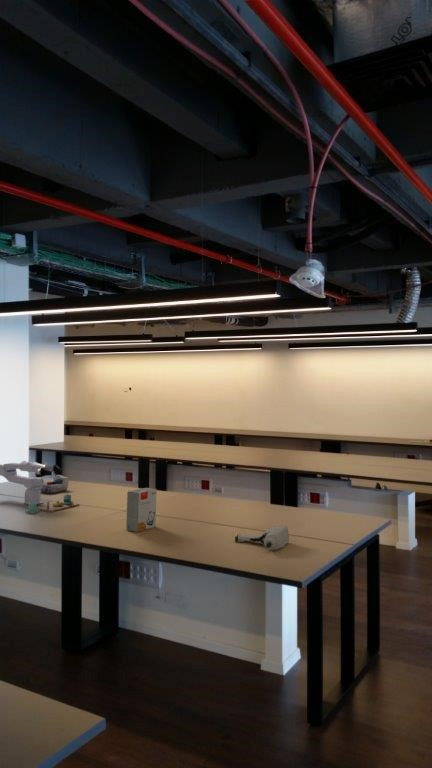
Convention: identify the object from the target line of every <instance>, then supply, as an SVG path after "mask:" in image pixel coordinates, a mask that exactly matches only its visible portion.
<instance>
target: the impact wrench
mask: <svg viewBox="0 0 432 768" xmlns="http://www.w3.org/2000/svg"><path fill="white" fill-rule="evenodd" d="M289 535H290V534H289V528H288V526H274V527H269V528H268V529H267V530H265V531H264V532H263V533H262V534H256V535H254V534H253V535H252V534H243V533H238V534H237V535H236V536H234V542H237V543H242V542H258V543H262V545H263V546H264V547H265V548H266V549H267V550H269V551H272V550H273V551H277V550H279V549H282V548H284V547H285V546H286V545H287V544H288V543H289V542H290V536H289Z"/></svg>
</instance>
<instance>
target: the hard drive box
mask: <svg viewBox="0 0 432 768" xmlns="http://www.w3.org/2000/svg"><path fill="white" fill-rule="evenodd" d="M156 522H157V488H149V487H144V488H138V489H135V490H134V489H133V490H128V491H127V494H126V525H125V526H126V529H125V530H126V531H130V532H135V533H139V532H143V531H146V530H149V529H152V528H155V527H156V524H157V523H156Z"/></svg>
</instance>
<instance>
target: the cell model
mask: <svg viewBox="0 0 432 768" xmlns="http://www.w3.org/2000/svg"><path fill="white" fill-rule="evenodd" d="M69 482H70V481H69V477H68V476H64V475H61V474H56V475H55V476H54V478H53V481H47V482H44V485H43V486H42V488H41V493H43V494H55V493H58V492H63V491H67V490H68V488H69Z"/></svg>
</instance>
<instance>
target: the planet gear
mask: <svg viewBox="0 0 432 768" xmlns="http://www.w3.org/2000/svg"><path fill="white" fill-rule="evenodd" d="M27 505H28V506H27V509H25V510H24V511H25V512H24V513H26V514H38V513H40V510H38V509H36V508H37V505H38V504H37V503H36V502H31V503H28V504H27Z"/></svg>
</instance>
